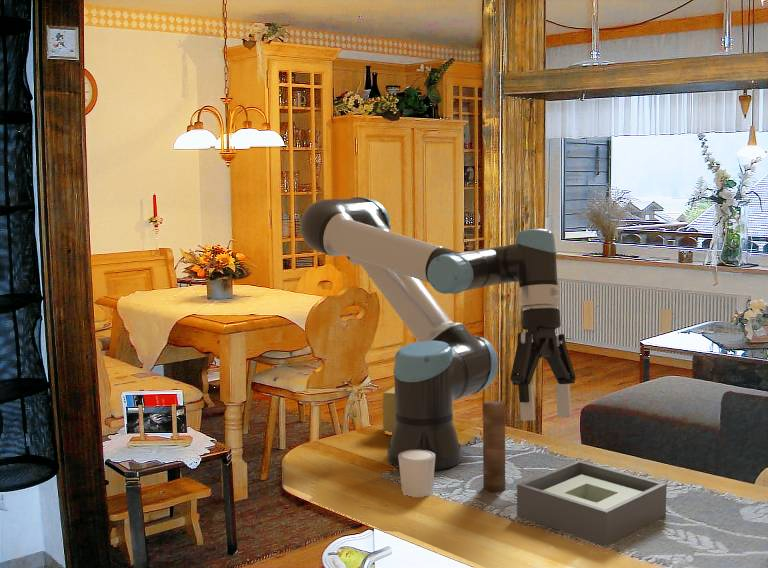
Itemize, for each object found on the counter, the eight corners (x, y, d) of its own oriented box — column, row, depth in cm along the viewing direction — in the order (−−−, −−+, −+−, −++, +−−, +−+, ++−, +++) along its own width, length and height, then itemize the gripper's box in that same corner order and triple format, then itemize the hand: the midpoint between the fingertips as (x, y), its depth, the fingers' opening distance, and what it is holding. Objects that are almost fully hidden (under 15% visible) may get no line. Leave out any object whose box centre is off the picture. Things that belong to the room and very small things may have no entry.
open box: (516, 515, 151) (516, 484, 151) (578, 489, 163) (578, 460, 162) (606, 546, 138) (606, 512, 138) (665, 515, 150) (666, 483, 150)
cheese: (441, 427, 204) (441, 384, 203) (424, 440, 195) (423, 395, 193) (399, 423, 208) (399, 381, 207) (380, 435, 199) (379, 391, 198)
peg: (478, 488, 165) (478, 403, 162) (493, 483, 167) (492, 399, 165) (495, 494, 162) (495, 407, 160) (509, 488, 164) (509, 403, 162)
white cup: (433, 499, 160) (432, 461, 159) (395, 497, 161) (394, 459, 160) (438, 486, 166) (438, 449, 165) (402, 484, 168) (401, 448, 167)
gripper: (522, 303, 162) (529, 421, 160) (588, 310, 181) (595, 415, 178) (487, 307, 167) (494, 422, 164) (555, 313, 186) (562, 416, 183)
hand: (546, 419), depth 171 cm, fingers open, 13 cm apart
